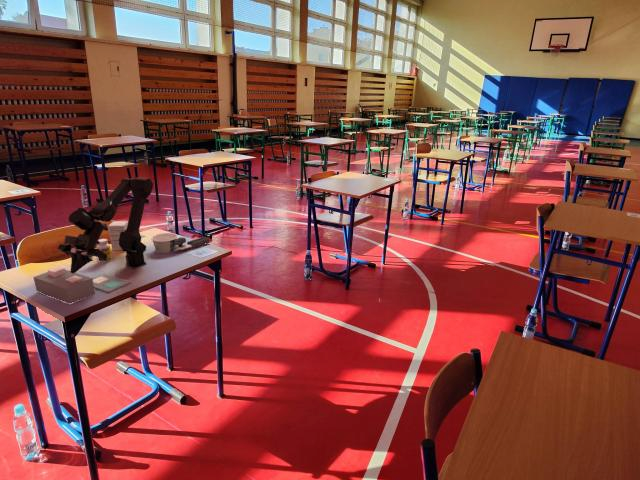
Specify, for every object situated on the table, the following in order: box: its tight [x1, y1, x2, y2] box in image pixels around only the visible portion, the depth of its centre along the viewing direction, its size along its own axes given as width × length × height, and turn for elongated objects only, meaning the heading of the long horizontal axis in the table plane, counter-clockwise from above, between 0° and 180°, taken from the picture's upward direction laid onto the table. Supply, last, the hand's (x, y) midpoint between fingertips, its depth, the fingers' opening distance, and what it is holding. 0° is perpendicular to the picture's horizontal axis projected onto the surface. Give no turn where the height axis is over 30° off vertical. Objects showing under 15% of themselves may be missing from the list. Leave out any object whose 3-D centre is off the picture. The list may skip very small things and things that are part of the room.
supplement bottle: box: [96, 238, 113, 263], centre depth 188 cm, size 5×5×10 cm
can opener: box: [174, 236, 211, 251], centre depth 206 cm, size 19×5×6 cm, turn 143°
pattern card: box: [91, 273, 132, 294], centre depth 167 cm, size 10×16×1 cm, turn 62°
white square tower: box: [107, 220, 129, 251], centre depth 203 cm, size 7×7×13 cm
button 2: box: [65, 276, 82, 283], centre depth 156 cm, size 4×4×4 cm
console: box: [33, 269, 96, 303], centre depth 158 cm, size 10×20×6 cm, turn 62°
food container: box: [150, 232, 178, 254], centre depth 202 cm, size 12×12×6 cm
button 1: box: [47, 266, 66, 277], centre depth 160 cm, size 4×4×4 cm
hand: (72, 272), depth 154 cm, fingers closed
